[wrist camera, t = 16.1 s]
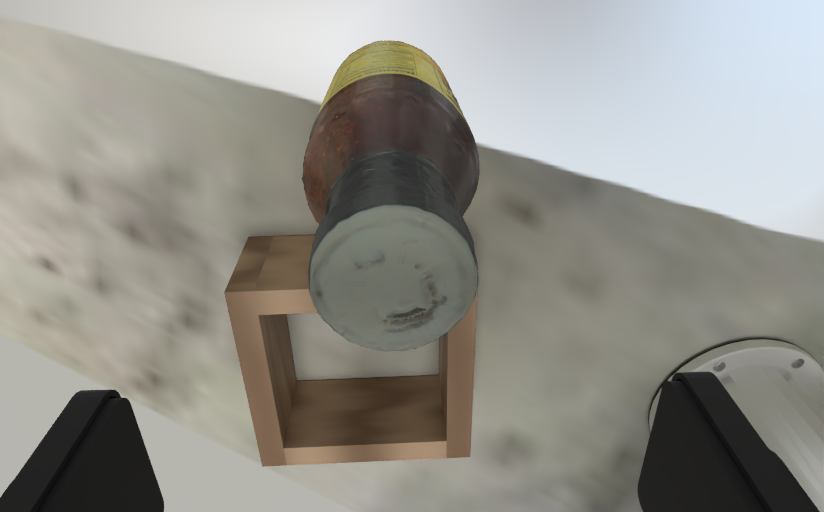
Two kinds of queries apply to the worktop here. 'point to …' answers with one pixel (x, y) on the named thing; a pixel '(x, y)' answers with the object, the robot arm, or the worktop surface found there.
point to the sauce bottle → (391, 201)
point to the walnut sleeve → (341, 398)
